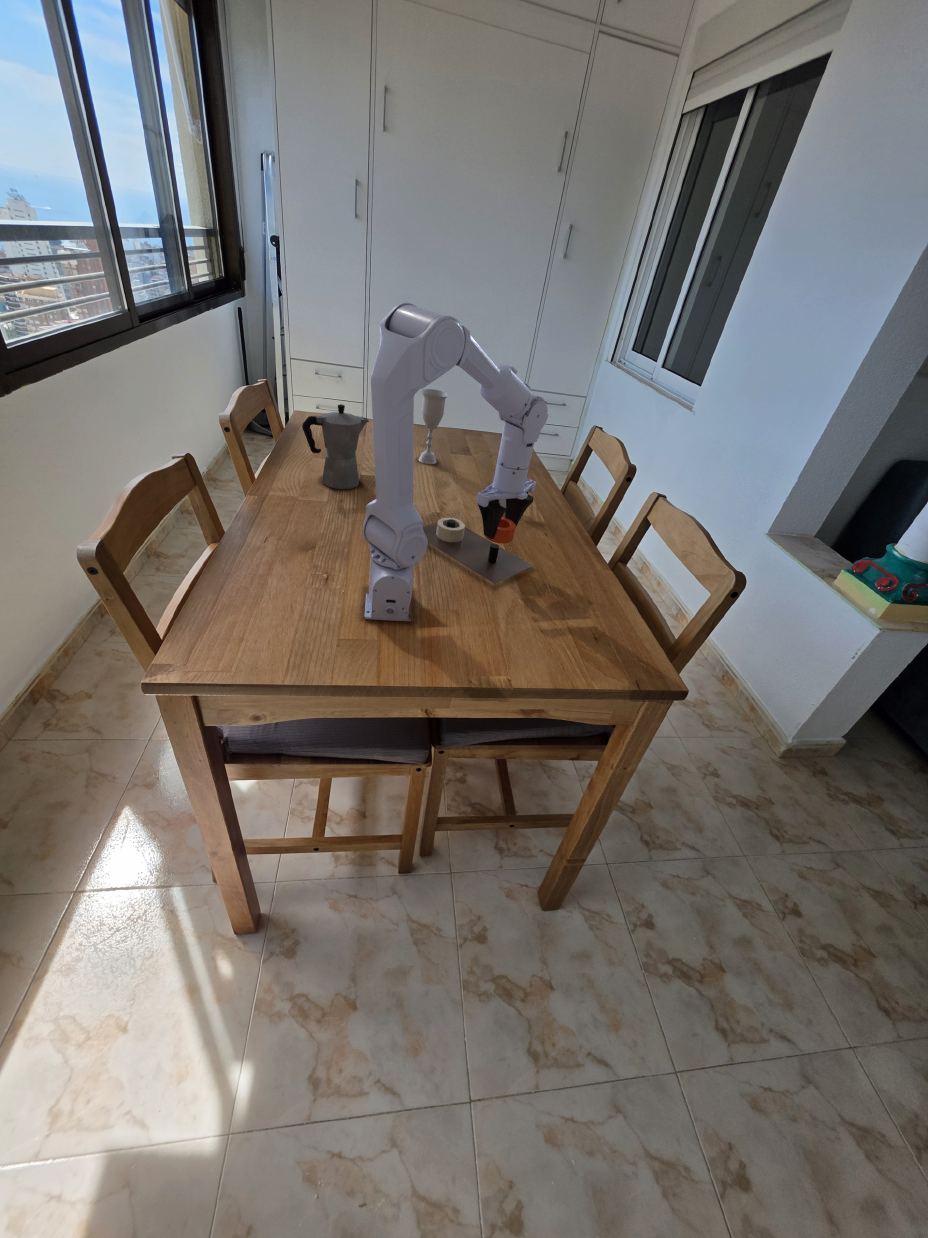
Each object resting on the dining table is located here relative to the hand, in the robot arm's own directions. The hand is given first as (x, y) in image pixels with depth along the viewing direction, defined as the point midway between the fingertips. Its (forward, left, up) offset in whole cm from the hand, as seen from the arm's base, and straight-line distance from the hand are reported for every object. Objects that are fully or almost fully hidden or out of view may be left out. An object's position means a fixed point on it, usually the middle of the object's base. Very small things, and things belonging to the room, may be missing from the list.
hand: (499, 532), depth 102 cm
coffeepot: (+34, +33, -8) cm, 48 cm away
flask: (+27, -7, -8) cm, 29 cm away
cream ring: (+10, +8, -6) cm, 14 cm away
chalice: (+55, +10, -8) cm, 57 cm away
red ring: (0, 0, -1) cm, 1 cm away
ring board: (+5, +4, -7) cm, 10 cm away
